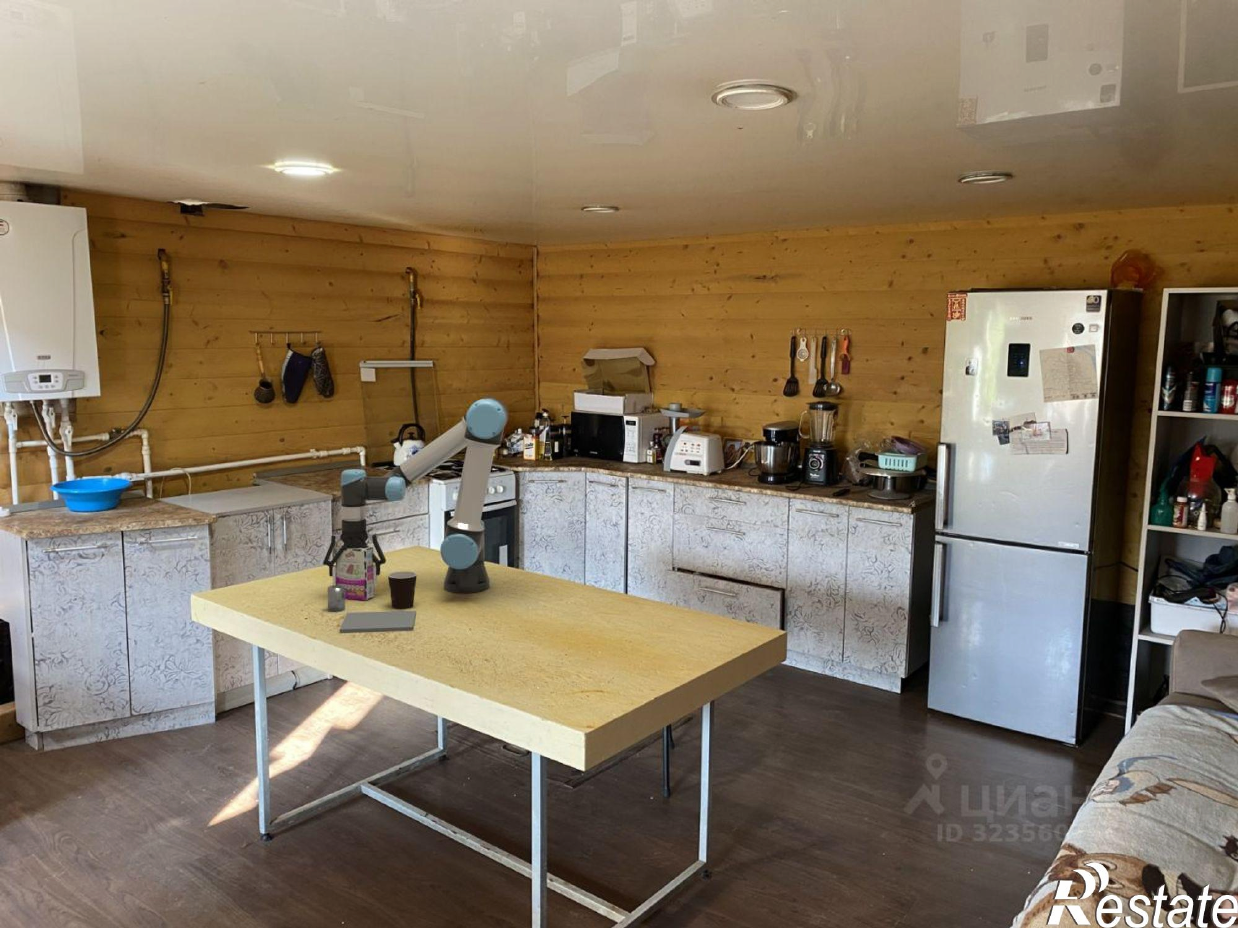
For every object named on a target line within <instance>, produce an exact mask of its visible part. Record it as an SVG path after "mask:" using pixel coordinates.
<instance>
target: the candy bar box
mask: <svg viewBox="0 0 1238 928" xmlns="http://www.w3.org/2000/svg"><path fill="white" fill-rule="evenodd" d="M342 546H343V545H341V546H337V547H334V548H335V555H336V554H337V553H338V551H339V550H340V549H341V547H342ZM373 553H374V546H373V547H370V546H368V547H367V548H362V547H360V548H348V547H346V549H345V550H344V551H343V553H342V554H341V555H340V557H339V558H338V559H337V561H336V562H335V565H336V585H342V586H345V600H357V601H364V602H365V601H368V600H371V599H374V598H375V586H374V571H373V566H374V564H375V563H374V562H373V561H372V554H373Z"/></svg>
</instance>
